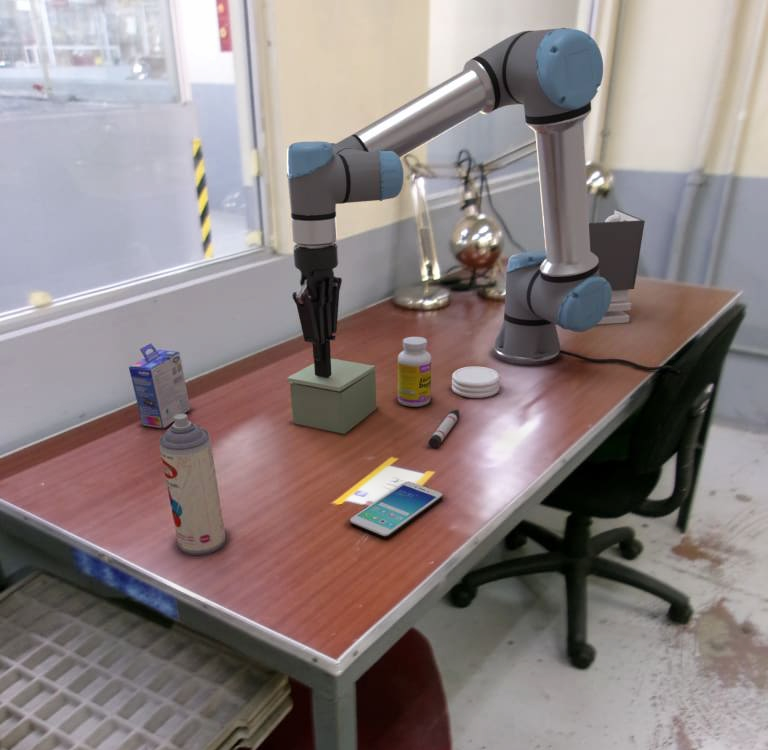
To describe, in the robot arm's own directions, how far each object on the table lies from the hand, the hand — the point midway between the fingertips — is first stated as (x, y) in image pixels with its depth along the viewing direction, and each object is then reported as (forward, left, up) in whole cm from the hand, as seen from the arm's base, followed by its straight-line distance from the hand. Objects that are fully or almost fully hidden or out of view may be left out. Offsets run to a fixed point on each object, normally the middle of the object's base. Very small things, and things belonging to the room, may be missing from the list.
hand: (323, 375), depth 139 cm
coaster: (-20, -28, -10) cm, 35 cm away
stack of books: (-28, -89, -10) cm, 93 cm away
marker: (-22, -7, -10) cm, 25 cm away
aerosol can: (-5, +43, -10) cm, 45 cm away
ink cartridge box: (+30, +11, -10) cm, 34 cm away
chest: (0, -4, -10) cm, 10 cm away
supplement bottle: (-11, -17, -10) cm, 22 cm away
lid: (0, -3, -1) cm, 3 cm away
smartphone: (-27, +23, -10) cm, 37 cm away
